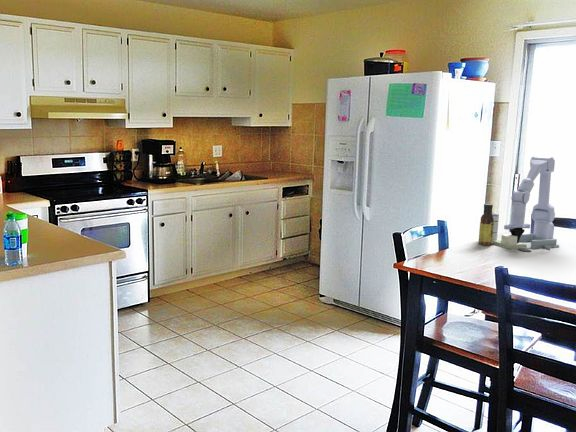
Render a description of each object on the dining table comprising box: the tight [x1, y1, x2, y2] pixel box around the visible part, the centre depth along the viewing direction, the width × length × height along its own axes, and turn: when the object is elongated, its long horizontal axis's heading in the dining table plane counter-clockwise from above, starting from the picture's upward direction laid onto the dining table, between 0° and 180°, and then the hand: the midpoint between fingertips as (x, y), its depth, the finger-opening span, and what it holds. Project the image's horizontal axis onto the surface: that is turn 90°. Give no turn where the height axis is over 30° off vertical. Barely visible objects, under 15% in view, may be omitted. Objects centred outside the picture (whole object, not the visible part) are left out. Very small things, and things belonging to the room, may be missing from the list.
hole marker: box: [516, 248, 532, 253], centre depth 256 cm, size 6×6×1 cm
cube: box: [500, 233, 517, 245], centre depth 265 cm, size 5×5×5 cm
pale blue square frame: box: [518, 233, 558, 249], centre depth 271 cm, size 15×14×4 cm
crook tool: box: [541, 244, 560, 251], centre depth 263 cm, size 10×4×1 cm, turn 112°
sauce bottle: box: [478, 203, 494, 247], centre depth 264 cm, size 7×6×20 cm
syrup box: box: [492, 211, 500, 243], centre depth 273 cm, size 6×6×14 cm
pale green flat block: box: [492, 239, 528, 250], centre depth 265 cm, size 10×11×2 cm
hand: (515, 243), depth 267 cm, fingers closed
